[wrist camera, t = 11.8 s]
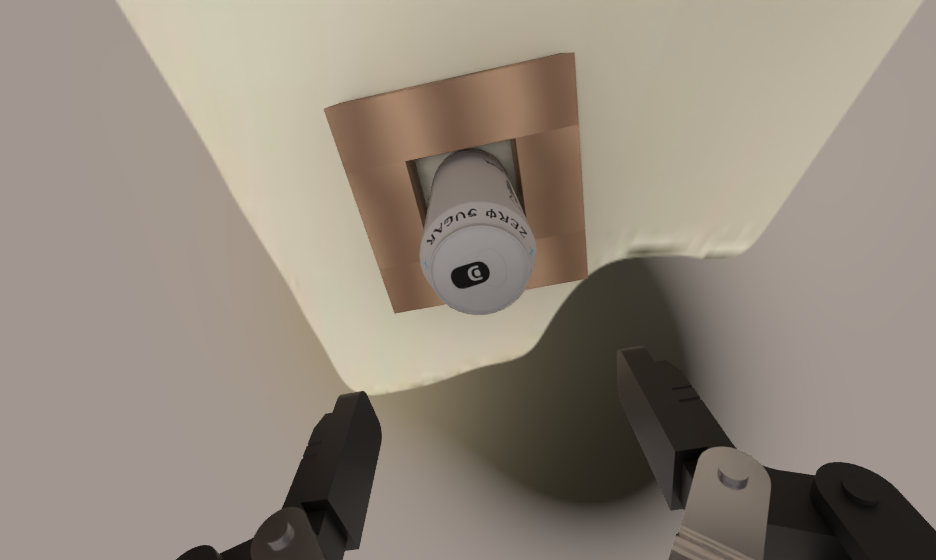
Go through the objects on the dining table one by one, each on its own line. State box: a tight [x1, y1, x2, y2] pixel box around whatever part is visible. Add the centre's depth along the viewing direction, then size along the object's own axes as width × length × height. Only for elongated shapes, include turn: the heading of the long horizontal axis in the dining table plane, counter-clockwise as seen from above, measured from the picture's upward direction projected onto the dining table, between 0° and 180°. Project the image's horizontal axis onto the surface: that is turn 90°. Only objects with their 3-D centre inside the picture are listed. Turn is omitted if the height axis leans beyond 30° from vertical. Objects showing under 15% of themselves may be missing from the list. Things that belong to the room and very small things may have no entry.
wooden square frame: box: [324, 53, 588, 313], centre depth 30 cm, size 16×16×4 cm
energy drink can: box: [419, 149, 537, 315], centre depth 26 cm, size 6×6×15 cm
